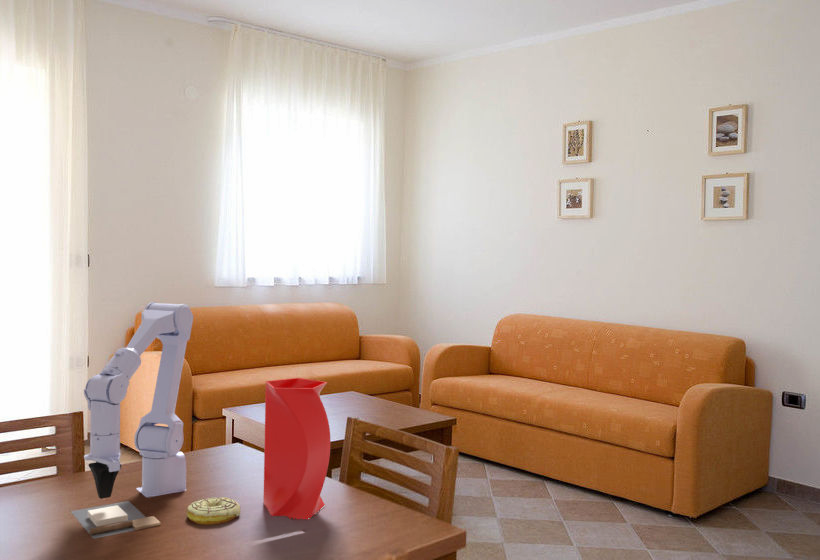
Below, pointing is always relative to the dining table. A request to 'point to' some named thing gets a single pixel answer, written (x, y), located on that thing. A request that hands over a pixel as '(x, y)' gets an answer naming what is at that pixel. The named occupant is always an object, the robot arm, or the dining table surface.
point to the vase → (295, 447)
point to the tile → (107, 516)
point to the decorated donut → (213, 510)
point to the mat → (125, 506)
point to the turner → (127, 525)
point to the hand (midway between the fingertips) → (104, 497)
